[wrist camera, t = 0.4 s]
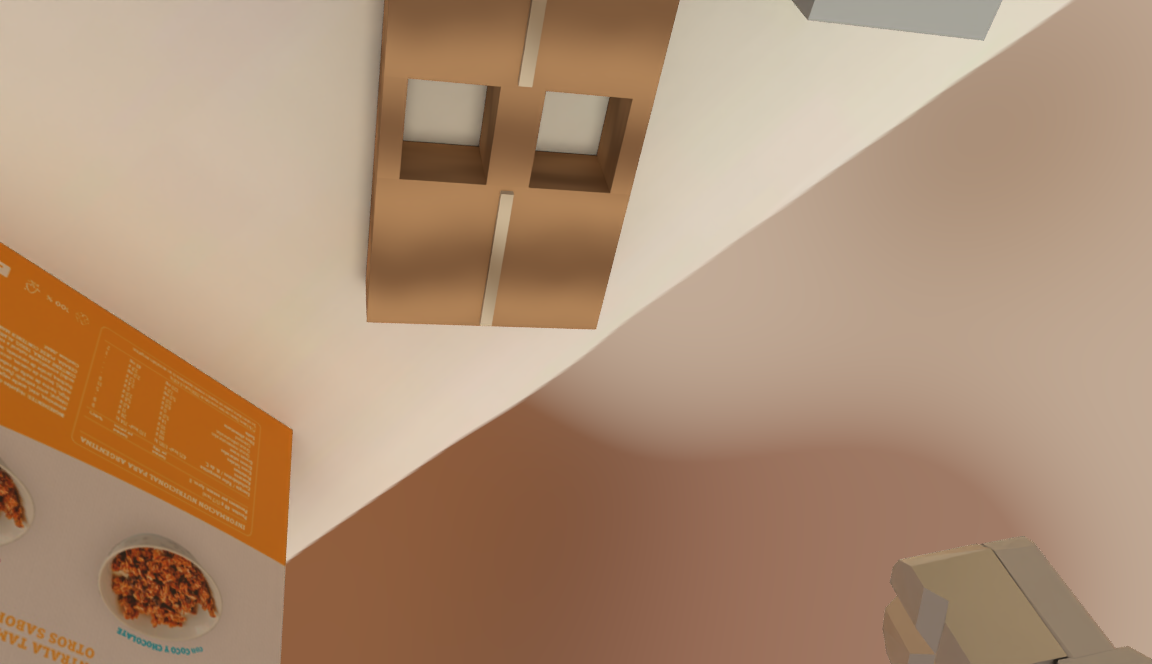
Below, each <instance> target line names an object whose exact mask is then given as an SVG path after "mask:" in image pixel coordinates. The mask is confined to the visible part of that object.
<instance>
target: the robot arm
mask: <svg viewBox="0 0 1152 664" xmlns="http://www.w3.org/2000/svg"><path fill="white" fill-rule="evenodd" d="M890 583H891V585H892V587H893V588H894V590H895V592H896V594H897V596H896V598H895V599H894V600H893V601H892V602H891V603H890V604H889V605H888V606H887V607H886V608H885V614H884V621H883V634H884V640H885V646H886V652H887V655H888V657H889V660H890V663H891V664H1152V659H1151V658H1149V657H1147V656H1145V655H1143V654H1142V653H1140V652H1138V651H1136V650H1134V649H1133V648H1131V647H1129V646H1126V647H1120V648H1115V647H1114V645H1113V644H1112V643H1111V641H1110V640H1109V639H1108V638H1107V636H1106V635H1105V634H1104V632H1103V631H1102V630H1101V629H1100V627H1099V626H1098V625H1097V623H1096V622H1095V621H1094V620H1093V618H1092V617H1091V616H1090V614H1089V613H1088V612H1087V611H1086V609H1085V608H1084V607H1083V605H1082V604H1081V603H1080V602H1079V600H1078V599H1077V598H1076V596H1075V595H1074V594H1073V592H1072V591H1071V590H1070V588H1069V587H1068V586H1067V585H1066V583H1065V582H1064V581H1063V579H1062V578H1061V577H1060V575H1059V574H1058V573H1057V572H1056V570H1055V569H1054V568H1053V566H1052V565H1051V564H1050V563H1049V561H1048V560H1047V559H1046V557H1044V555H1043V553H1042V552H1041V551H1040V550H1039V548H1038V547H1037V546H1036V545H1035V543H1034V542H1033V541H1031V540H1030V539H1028V538H1026V537H1025V536H1021V537H1013V538H1009V539H1004V540H999V541H994V542H989V543H984V544H980V545H978V544H973V545H968V546H963V547H958V548H953V549H949V550H944V551H939V552H935V553H929V554H925V555H920V556H915V557H910V558H905V559H901V560H899V561H898V562H897V563H896V564H895V565H894V566H893V569H892V574H891V579H890Z"/></svg>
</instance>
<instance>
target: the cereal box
mask: <svg viewBox="0 0 1152 664" xmlns="http://www.w3.org/2000/svg"><path fill="white" fill-rule="evenodd" d="M292 434H293V430H292V429H290V428H289V427H287V426H286V425H284V424H283V423H281V422H280V421H278V420H276V419H275V418H273V417H272V416H270V415H269V414H267V413H266V412H264V411H262V410H261V409H259V408H258V407H256V406H255V405H253V404H252V403H250V402H248V401H247V400H245V399H244V398H242V397H241V396H239V395H238V394H236V393H234V392H233V391H231V390H230V389H228V388H227V387H225V386H224V385H222V384H220V383H219V382H217V381H216V380H214V379H213V378H211V377H210V376H208V375H206V374H205V373H203V372H202V371H200V370H199V369H197V368H196V367H194V366H192V365H191V364H189V363H188V362H186V361H185V360H183V359H182V358H180V357H178V356H177V355H175V354H174V353H172V352H171V351H169V350H168V349H166V348H164V347H163V346H161V345H160V344H158V343H157V342H155V341H154V340H152V339H150V338H149V337H147V336H146V335H144V334H143V333H141V332H140V331H138V330H136V329H135V328H133V327H132V326H130V325H129V324H127V323H126V322H124V321H122V320H121V319H119V318H118V317H116V316H115V315H113V314H112V313H110V312H108V311H107V310H105V309H104V308H102V307H101V306H99V305H98V304H96V303H94V302H93V301H91V300H90V299H88V298H87V297H85V296H84V295H82V294H80V293H79V292H77V291H76V290H74V289H73V288H71V287H70V286H68V285H66V284H65V283H63V282H62V281H60V280H59V279H57V278H56V277H54V276H52V275H51V274H49V273H48V272H46V271H45V270H43V269H42V268H40V267H38V266H37V265H35V264H34V263H32V262H31V261H29V260H28V259H26V258H24V257H23V256H21V255H20V254H18V253H17V252H15V251H14V250H12V249H10V248H9V247H7V246H6V245H4V244H3V243H1V242H0V664H280V658H281V640H282V622H283V602H284V584H285V565H286V547H287V528H288V509H289V490H290V471H291V452H292Z"/></svg>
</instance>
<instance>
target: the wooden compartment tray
mask: <svg viewBox="0 0 1152 664" xmlns="http://www.w3.org/2000/svg"><path fill="white" fill-rule="evenodd" d="M679 1H680V0H385V1H384V16H383V31H382V46H381V61H380V75H379V90H378V105H377V120H376V135H375V150H374V165H373V180H372V194H371V209H370V224H369V239H368V254H367V269H366V309H367V322H378V323H409V324H440V325H472V326H503V327H535V328H566V329H596V327H597V323H598V319H599V315H600V311H601V307H602V303H603V300H604V296H605V292H606V288H607V284H608V280H609V276H610V272H611V268H612V264H613V260H614V256H615V252H616V248H617V244H618V241H619V237H620V233H621V229H622V225H623V221H624V217H625V213H626V209H627V205H628V201H629V197H630V193H631V189H632V185H633V182H634V178H635V174H636V170H637V166H638V162H639V158H640V154H641V150H642V146H643V142H644V138H645V134H646V130H647V126H648V123H649V119H650V115H651V111H652V107H653V103H654V99H655V95H656V91H657V87H658V83H659V79H660V75H661V71H662V67H663V64H664V60H665V56H666V52H667V48H668V44H669V40H670V36H671V32H672V28H673V24H674V20H675V16H676V12H677V8H678V5H679ZM408 78H410V79H421V80H432V81H443V82H454V83H465V84H476V85H487V93H486V100H485V107H484V114H483V121H482V128H481V135H480V143H479V147H476V146H463V145H450V144H437V143H424V142H411V141H403V131H404V120H405V108H406V96H407V85H408ZM546 91H553V92H564V93H575V94H586V95H597V96H608V97H610V98H609V103H608V107H607V112H606V116H605V121H604V125H603V130H602V134H601V139H600V143H599V148H598V152H597V156H595V155H582V154H569V153H555V152H542V151H535V149H536V144H537V138H538V132H539V127H540V121H541V116H542V110H543V105H544V99H545V93H546Z"/></svg>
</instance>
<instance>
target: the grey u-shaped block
mask: <svg viewBox="0 0 1152 664" xmlns="http://www.w3.org/2000/svg"><path fill="white" fill-rule="evenodd" d="M792 1H793V2H794V4H795V5H796V6H797V7H798V9H799V10H800V11H801V12H802V13H803V15H804V16H805V17H806V18H807V20H811V21H820V22H828V23H837V24H845V25H854V26H863V27H871V28H880V29H888V30H897V31H905V32H914V33H923V34H931V35H940V36H948V37H957V38H965V39H974V40H983V41H984V39H985V37H986V35H987V33H988V30H989V28H990V26H991V24H992V22H993V20H994V17H995V15H996V13H997V11H998V9H999V6H1000V4H1001V2H1002V0H792Z"/></svg>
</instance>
